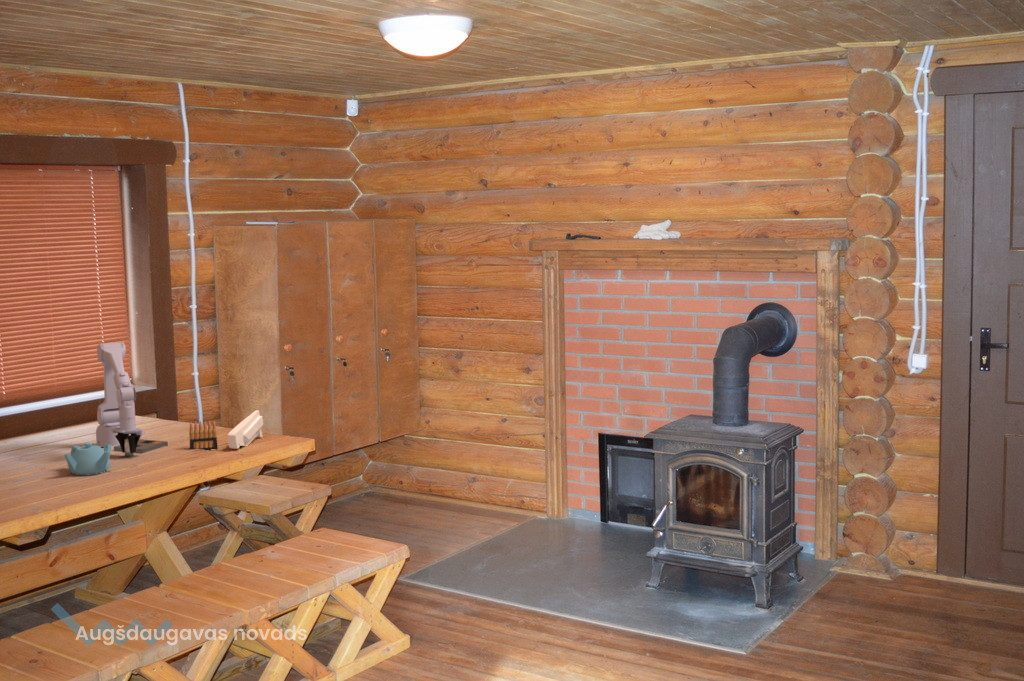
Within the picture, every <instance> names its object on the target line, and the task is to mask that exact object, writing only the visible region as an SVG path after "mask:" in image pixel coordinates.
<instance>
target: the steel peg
mask: <svg viewBox="0 0 1024 681" xmlns="http://www.w3.org/2000/svg"><path fill="white" fill-rule="evenodd" d="M124 449H125V452H124V455H125V457H133V456H134V455H135V454H134V453H130V445H129V441H128V438H125V439H124Z"/></svg>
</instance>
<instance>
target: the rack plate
mask: <svg viewBox="0 0 1024 681" xmlns="http://www.w3.org/2000/svg"><path fill="white" fill-rule="evenodd" d="M168 446H169V442H168V441H166V440H165V441H164V440H154V439H142V438H141V439H139V441H138V443H137V447H136V452H135V453H137V454H145V453H149V452H151V451H154V450H157V449H161V448H163V447H168ZM113 451H114V452H115V451H116V452H122V449H121V446H120V445H116V446H113Z"/></svg>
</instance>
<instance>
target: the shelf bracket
mask: <svg viewBox="0 0 1024 681" xmlns="http://www.w3.org/2000/svg"><path fill="white" fill-rule="evenodd" d="M263 419H264V418H263V415H261V414H260V410H259V409H258V410H254V411H253V412H252V413H251V414H249V415H248V416H247V417H245V418H244V419H242V421H240V422H239V423H238V424H237V425H236V426H235V427H233V428H232V429H231V430H230V432H228V434H227V440H228V441H227V442H228V447H229V449H235V450H237V449H239V448H240V446H247V447H249V445H251V443H252V442H253V440H255V439H256V438H259V439H263V430H262V426H263V425H264V420H263Z"/></svg>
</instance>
